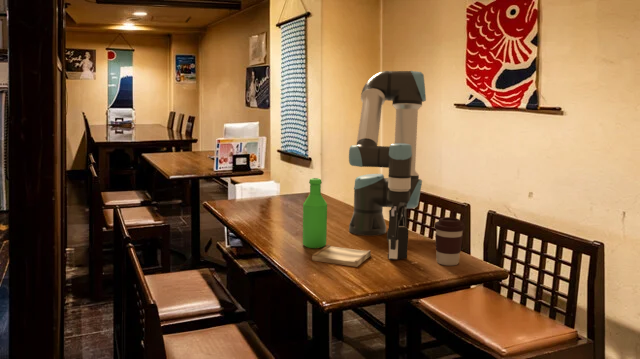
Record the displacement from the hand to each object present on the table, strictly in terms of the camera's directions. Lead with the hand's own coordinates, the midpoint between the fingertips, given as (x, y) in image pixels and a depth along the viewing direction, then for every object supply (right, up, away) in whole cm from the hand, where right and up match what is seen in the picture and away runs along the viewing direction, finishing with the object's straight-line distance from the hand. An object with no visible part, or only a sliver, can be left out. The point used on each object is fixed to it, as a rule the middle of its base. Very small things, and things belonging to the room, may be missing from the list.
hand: (396, 255), depth 198 cm
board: (-19, -1, 0) cm, 19 cm away
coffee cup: (+17, -2, -4) cm, 17 cm away
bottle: (-28, +1, +14) cm, 32 cm away
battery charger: (0, -1, 0) cm, 1 cm away
